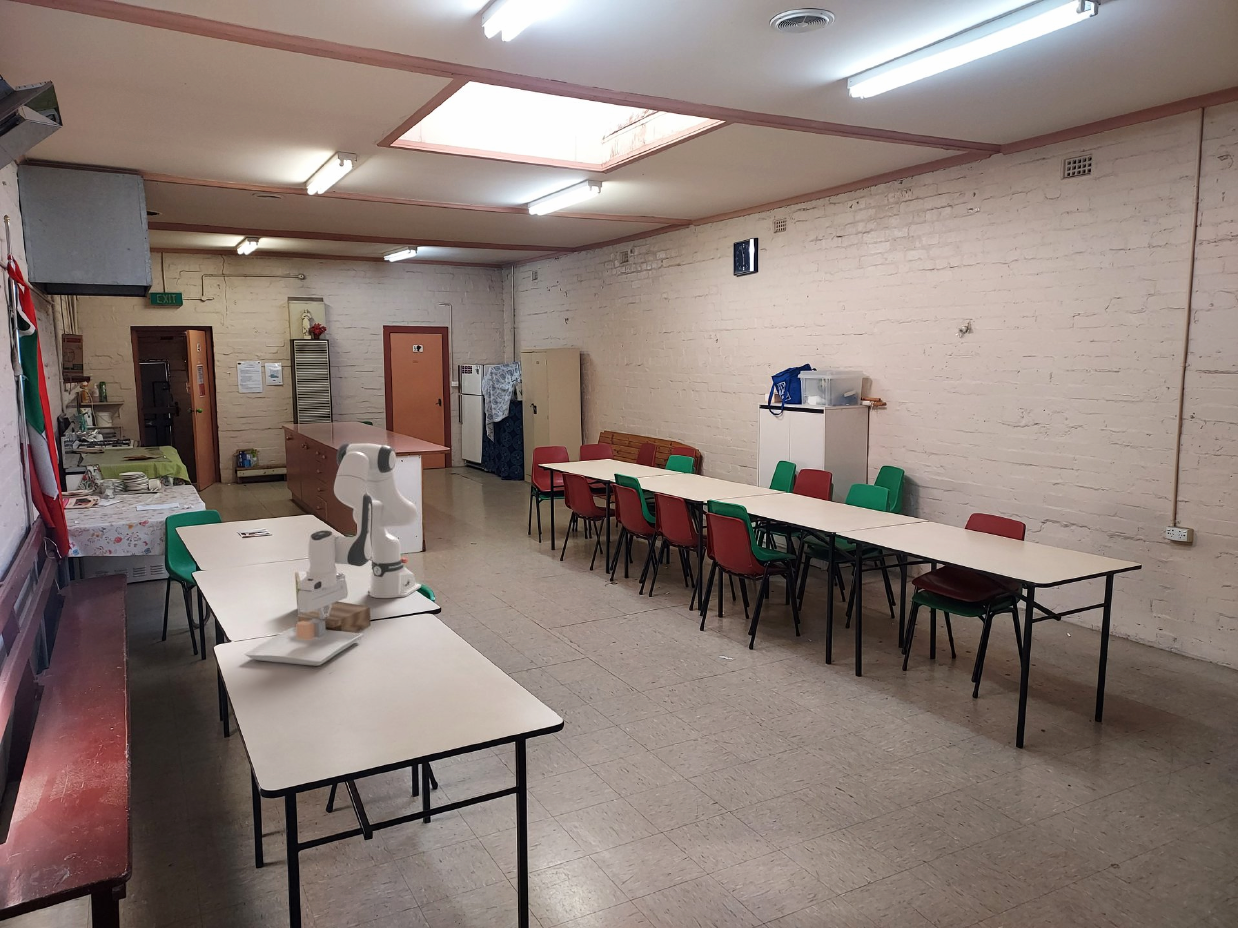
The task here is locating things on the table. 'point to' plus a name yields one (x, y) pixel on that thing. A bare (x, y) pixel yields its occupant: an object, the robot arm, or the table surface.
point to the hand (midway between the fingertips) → (324, 617)
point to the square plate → (303, 647)
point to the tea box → (298, 578)
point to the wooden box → (342, 617)
